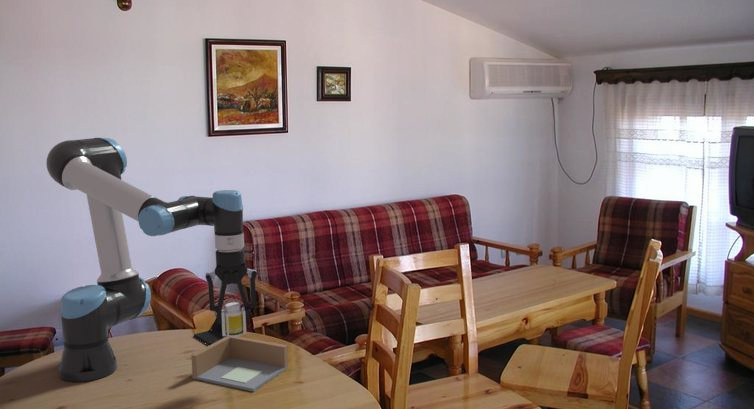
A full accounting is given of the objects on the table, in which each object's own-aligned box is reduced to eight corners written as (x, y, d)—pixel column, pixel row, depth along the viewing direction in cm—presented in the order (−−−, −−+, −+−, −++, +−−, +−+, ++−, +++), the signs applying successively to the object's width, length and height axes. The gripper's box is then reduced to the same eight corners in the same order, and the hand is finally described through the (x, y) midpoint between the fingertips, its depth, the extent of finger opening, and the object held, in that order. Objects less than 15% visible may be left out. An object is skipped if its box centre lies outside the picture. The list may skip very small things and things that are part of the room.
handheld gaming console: (187, 333, 221) (205, 306, 224) (202, 341, 227) (219, 314, 229) (209, 347, 214) (227, 319, 217) (223, 355, 220) (241, 327, 222)
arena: (192, 378, 191) (191, 355, 190) (229, 356, 207) (229, 334, 205) (253, 391, 183) (252, 367, 182) (287, 368, 198) (287, 345, 197)
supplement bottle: (246, 333, 189) (245, 303, 187) (234, 338, 185) (233, 308, 183) (233, 330, 191) (232, 300, 190) (221, 335, 187) (219, 305, 186)
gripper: (195, 254, 178) (200, 341, 182) (265, 249, 183) (269, 334, 187) (195, 248, 186) (200, 332, 189) (262, 243, 190) (266, 325, 194)
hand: (234, 333), depth 188 cm, fingers closed on supplement bottle, 5 cm apart
